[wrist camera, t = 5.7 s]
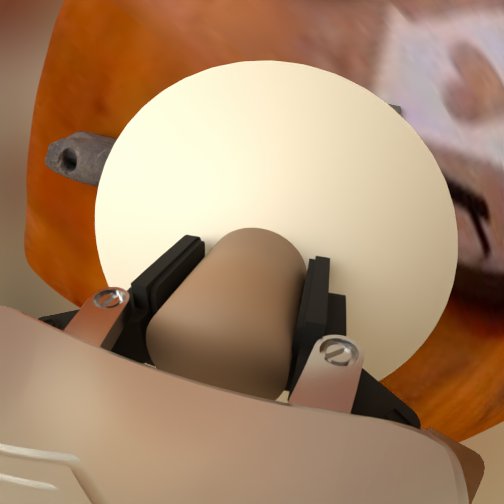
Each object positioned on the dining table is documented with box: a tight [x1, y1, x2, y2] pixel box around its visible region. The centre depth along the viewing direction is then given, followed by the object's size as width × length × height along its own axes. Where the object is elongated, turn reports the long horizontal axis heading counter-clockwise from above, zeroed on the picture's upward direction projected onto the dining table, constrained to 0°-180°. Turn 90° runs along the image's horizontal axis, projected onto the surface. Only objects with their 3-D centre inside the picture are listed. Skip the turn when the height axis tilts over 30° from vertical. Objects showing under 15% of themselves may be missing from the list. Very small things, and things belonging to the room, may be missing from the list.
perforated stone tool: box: [45, 131, 117, 186], centre depth 29 cm, size 15×5×7 cm, turn 72°
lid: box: [95, 61, 458, 403], centre depth 10 cm, size 16×16×6 cm
